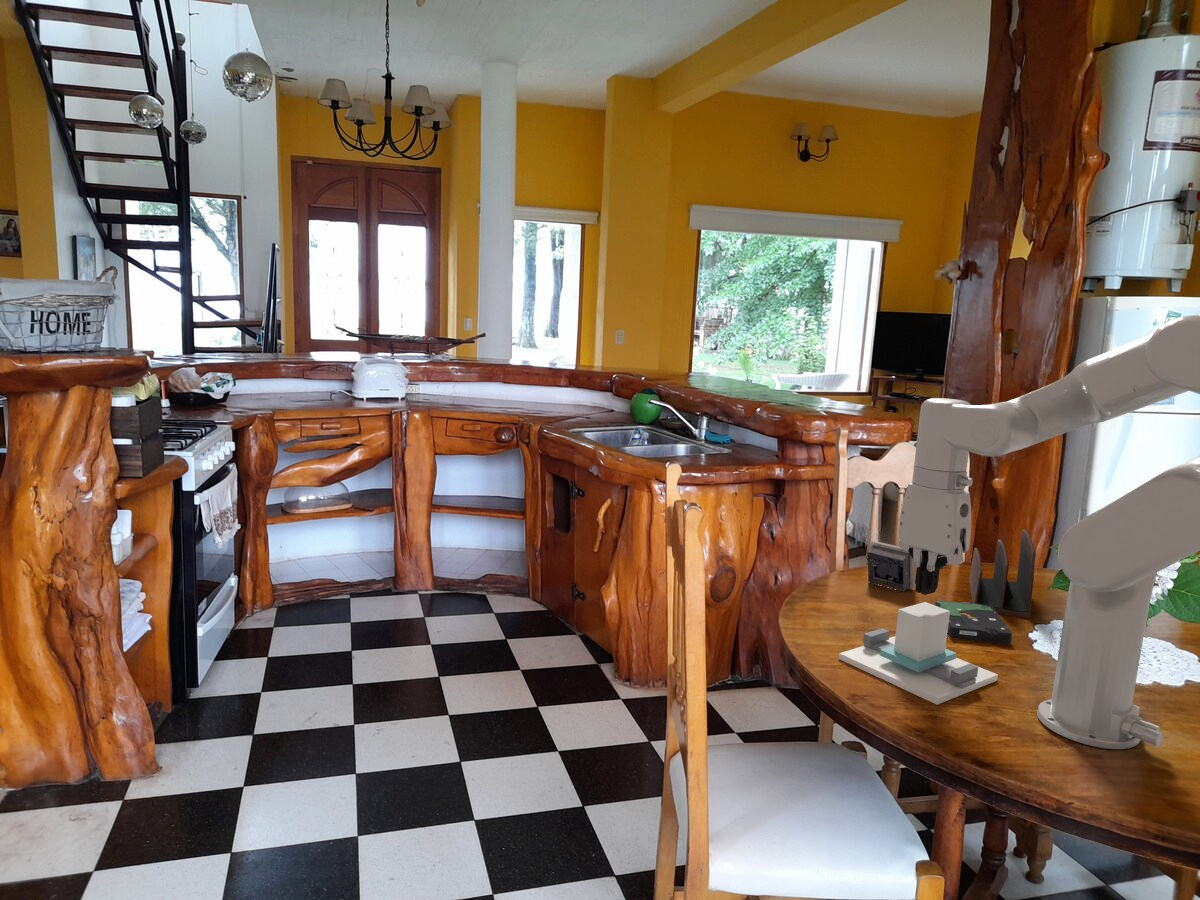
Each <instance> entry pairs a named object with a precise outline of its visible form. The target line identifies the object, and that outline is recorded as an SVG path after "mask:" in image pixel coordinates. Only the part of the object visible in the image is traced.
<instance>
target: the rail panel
mask: <svg viewBox="0 0 1200 900" xmlns="http://www.w3.org/2000/svg"><path fill="white" fill-rule="evenodd" d="M890 634H891V633H890V630H887V629H886V628H882V627H881V628H878V629H876V630H873V631H869V632H865V633H863V639H862V643H863V645H862V646H859V647H855V648H851V649H849V650H845V651H843V652H839V653H838V654H839V655H838V656H839V657H838V660H840V661H842V662H845V663H846V664H848V665H851V666H853V667H855V668H857V669H859V670H862V671H864V672H865V673H869V675H872V676H874V677H877V678H878V679H881V680H882V681H886V682H887V683H890V684H892V685H894V686H896V687H898V688H900V689H903V690H905V691H906V692H909V693H911V694H914V695H915V696H917V697H920V698H922V699H924V700H926V701H929V702H930V703H933V704H935V705H941V704H942V703H945V702H947V701H950V700H952V699H954V698H957V697H959V696H963V695H964V694H967V693H969V692H972V691H974V690H977V689H980V688H981V687H984V686H987V685H989V684H992V683H994V682H997V681H998V677H999V676H998V675H999V674H997V673H996V672H993V671H990V670H988V669H985V668H982V667H980V666H979V665H975V664H973V663H970V662H968V661H965V660H963V659H960V658H958V657H956V659H954V660H951V661H948V662H946V663H943V664H940V665H937V666H934V667H932V668H929V669H926V670H923V671H920V672H916V671H914V670H912V669H909V668H907V667H905V666H902V665H900V664H898V663H896V662H893V661H891V660H889V659H887V658H884V657H882V656H880V650H881V649H884V648H887V647H890V646H894V645H895V636H896V635H894V636H891V637H890Z"/></svg>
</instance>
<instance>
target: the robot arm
mask: <svg viewBox="0 0 1200 900" xmlns="http://www.w3.org/2000/svg"><path fill="white" fill-rule="evenodd" d="M1186 392H1192V393H1194V394H1197V395H1200V315H1196V314H1195V315H1184V316H1179V317H1177V318H1174V319H1171V320H1169V321H1167V322H1165V323H1164V324H1162V325H1160V326H1159V327H1158V328H1157V329H1156V330H1155V331H1154V332H1152V333H1148V334H1147V335H1144V336H1142V337H1141V338H1139V339H1136V340H1134V341H1131V342H1129V343H1126V344H1124V345H1121V346H1119V347H1117V348H1114V349H1112V350H1109V351H1107V352H1104V353H1102V354H1099V355H1097V356H1093V357H1092V358H1089V359H1087V360H1085V361H1082V362H1081V363H1080V364H1078V365H1077V366H1076V367H1074V368H1073V369H1072V370H1071V371H1070V372H1069V373H1068V374H1067V375H1065V376H1063V377H1062V378H1059V379H1058V380H1056V381H1054V382H1052V383H1049V384H1048V385H1044V386H1043V387H1041V388H1039V389H1036V390H1033V391H1031V392H1029V393H1026V394H1023V395H1021V396H1018V397H1015V398H1014V399H1011V400H1008V401H1001V402H996V403H995V402H994V403H990V404H981V405H979V404H978V405H977V404H976V405H975V404H974V405H973V404H971V403H970V402H968V401H965V400H963V399H954V398H945V397H942V398H941V397H935V398H934V397H932V398H928V399H926V400H924V401H923V402H922V404H921V406H920V411H919V419H918V427H917V428H918V429H917V437H916V446H915V455H914V464H913V472H912V473H913V474H912V481H911V482H909V483H908V484H907V485H908V486H907V488H906V490H905V493H904V497H903V500H902V504H901V510H900V515H899V520H898V529H897V537H898V540H899V541H898V545H897V546H898V547H900V548H901V549H903V550H905V551H906V552H909V554H910V555H911V557H912V559H913V563H914V567H915V568H916V571H915V586H914V589H915V590H914V591H915V593H918V594H921V595H923V596H928V595H930V594H934V593H936V592H937V591H936V590H937V589H938V587H939V586H938V585H939V580H940V570H943V569H944V568H946V566H949V565H950V566H959V565H961V564H964V560H965V559H964V553H968V551H969V550H970V545H971V535H972V533H971V532H972V504H971V502H972V501H971V497H970V495H971V494H970V491H967V490H965V489H966V487H968V488H970V487H971V486H972V485H973V483H974V482H973V481H974V480H973V478H972V477H971V478H970V477H969V476H968V471H967V470H968V462H969V461H968V460H969V453H972V454H977V455H980V456H983V457H1000V456H1003V455H1006V454H1010V453H1012V452H1016V451H1019V450H1023V449H1025V448H1029V447H1031V446H1033V445H1036V444H1038V443H1041V442H1045V441H1047V440H1051V439H1052V438H1055V437H1059V436H1061V435H1064V434H1066V433H1069V432H1072V431H1074V430H1078V429H1080V428H1083V427H1086V426H1089V425H1092V424H1099V423H1104V422H1105V423H1106V422H1107V421H1111V420H1113V419H1115V418H1118V417H1121V416H1124V415H1126V414H1129V413H1132V412H1134V411H1137V410H1140V409H1143V408H1145V407H1148V406H1150V405H1154V404H1156V403H1159V402H1161V401H1164V400H1165V401H1166V400H1167V399H1170V398H1173V397H1175V396H1178V395H1181V394H1184V393H1186ZM1199 551H1200V455H1198V456H1196V457H1195V458H1193V459H1191V460H1189V461H1186V462H1185V463H1183V464H1182V463H1181V464H1179V465H1177V466H1174V467H1172V468H1169V469H1167V470H1165V471H1163V472H1161V473H1159V474H1157V475H1156V476H1154V477H1153V478H1151V479H1149V480H1148V481H1146V482H1144V483H1143V484H1141V485H1139V486H1137V487H1136V488H1134V489H1133V490H1130V491H1129V492H1127V493H1126V494H1125V495H1122V496H1121V497H1119V498H1117V499H1115V500H1114V501H1112V502H1110V503H1109V504H1107V505H1106V506H1104V507H1102V508H1101V509H1098V510H1096V511H1093V512H1092V513H1090V514H1089V515H1086V516H1085V517H1083V518H1082V519H1081V520H1080V521H1077V522H1076V523H1074V524H1073V525H1071V526H1070V527H1069V528H1067V530H1066V531H1065V532H1064V534H1063V535H1062V537H1061V539H1060V541H1059V544H1058V549H1057V558H1058V563H1059V566H1060V568H1061V570H1062V572H1063V574H1064V575H1065V576H1066V577H1067V578H1068V580H1070V583H1069V587H1068V593H1067V597H1066V602H1065V603H1066V604H1065V609H1064V614H1063V622H1062V627H1061V634H1060V635H1061V636H1060V642H1059V647H1058V656H1057V662H1056V668H1055V675H1054V681H1053V689H1052V695H1051V698H1050V699H1046V700H1044V701H1042V702H1040V703H1039V705H1038V706H1037V712H1036V715H1037V718H1038V719H1039V721H1040V722H1041V723H1042V724H1043V725H1044V726H1045V727H1047V728H1048V729H1049V730H1051V731H1052V732H1054V733H1056V734H1057V735H1060V736H1061V737H1064V738H1066V739H1069V740H1070V741H1074V742H1077V743H1080V744H1083V745H1085V746H1090V747H1094V748H1099V749H1105V750H1107V749H1108V750H1109V749H1110V750H1125V749H1130V748H1133V747H1136V746H1137V745H1138V744H1140V742H1141V741H1142V742H1144V743H1146V744H1149V745H1151V746H1154V747H1156V748H1158V747H1160V746H1161V744H1162V742H1163V739H1164V737H1163V735H1164V734H1163V733H1162V732H1161V727H1160V726H1159V725H1157V724H1155V723H1152V722H1149V721H1145V720H1143V719H1142V717H1141V716H1139V714H1140V710H1141V709H1140V708H1141V707H1140V706H1138V705H1136V704H1134V703H1133V702H1134V701H1133V700H1134V695H1135V688H1136V684H1137V678H1138V677H1137V676H1138V671H1139V665H1140V659H1141V655H1142V654H1141V653H1142V647H1143V642H1144V635H1145V632H1146V626H1147V621H1148V617H1149V616H1148V615H1149V609H1150V604H1151V600H1152V596H1153V590H1154V586H1155V581H1156V578H1157V574H1158V572H1160V571H1163V570H1164V569H1166V568H1168V567H1170V566H1172V565H1174V564H1176V563H1178V562H1180V561H1182V560H1183V559H1186V558H1187V557H1189V556H1192V555H1193V554H1195V553H1198V552H1199Z"/></svg>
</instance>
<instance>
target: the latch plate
mask: <svg viewBox="0 0 1200 900" xmlns="http://www.w3.org/2000/svg"><path fill="white" fill-rule="evenodd" d="M880 656H882V657H884V658H887V659H889V660H891V661H893V662H896V663H898V664H900V665H902V666H905V667H907V668H909V669H912V670H914V671H916V672H920V671H923V670H926V669H929V668H932V667H934V666H937V665H940V664H943V663H946V662H948V661H951V660H954V659H956V658H957V652H955V651H952V650H950V649H948V648H945V653H942V654H939V655H936V656H933V657H930V658H927V659H924V660H921V661H916V660H914V659H912V658H909V657H907V656H905V655H902V654H900V653H898V652H895V651H894V646H890V647H887V648H884V649H881V650H880Z"/></svg>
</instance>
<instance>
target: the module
mask: <svg viewBox="0 0 1200 900" xmlns="http://www.w3.org/2000/svg"><path fill="white" fill-rule="evenodd" d="M897 611H898V612H897V619H896V629H895V635H894V636H895V645H894V651H895V652H898V653H900V654H902V655H905V656H907V657H909V658H912V659H914V660H916V661H921V660H924V659H927V658H930V657H933V656H936V655H939V654H942V653H945V649H947V648H946V647H947V640H948V639H947V638H948V634H947V632H948V624H949V616H950V611H949V610H946V609H943V608H940V607H938V606H935V604H932V603H929V602H926V601H924V602H921V603H917V604H913V605H909V606H906V607H901V608H898V610H897Z"/></svg>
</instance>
